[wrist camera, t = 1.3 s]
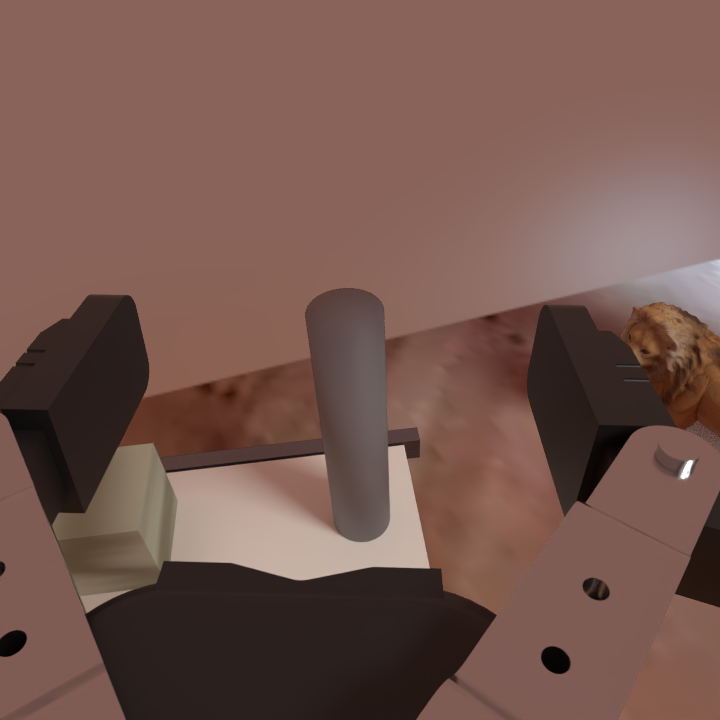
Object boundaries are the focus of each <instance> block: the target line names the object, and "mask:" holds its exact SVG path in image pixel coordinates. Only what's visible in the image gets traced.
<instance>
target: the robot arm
mask: <svg viewBox="0 0 720 720" xmlns="http://www.w3.org/2000/svg"><path fill="white" fill-rule="evenodd" d="M640 366H641V364H640V362H639V360H638V359H637V357H636V355H635V354H634V352H633V350H632V348H631V347H630V346H629V345H628V344H626V343H625V342H624V341H622V340H621V339H620V338H619V337H617V336H616V335H615V334H613V333H612V332H611V331H598V330H597V328H596V326H595V324H594V322H593V320H592V318H591V316H590V314H589V313H588V311H587V309H586V307H585V306H576V305H544V306H543V307H542V309H541V312H540V315H539V320H538V325H537V330H536V335H535V340H534V345H533V350H532V355H531V360H530V365H529V370H528V379H527V389H528V398H529V402H530V406H531V409H532V412H533V415H534V419H535V422H536V425H537V429H538V432H539V435H540V438H541V442H542V445H543V448H544V451H545V455H546V458H547V461H548V465H549V468H550V471H551V474H552V478H553V481H554V484H555V487H556V491H557V494H558V497H559V501H560V504H561V507H562V510H563V514H564V519H563V520H562V522H561V523H560V525H559V526H558V528H557V529H556V530H555V532H554V533H553V535H552V536H551V538H550V539H549V541H548V542H547V544H546V545H545V546H544V548H543V549H542V551H541V552H540V554H539V555H538V557H537V558H536V559H535V561H534V562H533V564H532V565H531V567H530V568H529V570H528V571H527V572H526V574H525V575H524V577H523V578H522V580H521V581H520V583H519V584H518V586H517V587H516V588H515V590H514V591H513V593H512V594H511V596H510V597H509V599H508V600H507V601H506V603H505V604H504V606H503V607H502V609H501V610H500V612H499V613H498V615H496V614H494V613H493V612H491V611H490V610H488V609H487V608H485V607H483V606H481V605H479V604H477V603H475V602H473V601H471V600H469V599H467V598H464V597H462V596H459V595H456V594H454V593H450V592H446V591H443V585H442V574H441V569H433V568H397V567H369V568H364V569H359V570H354V571H349V572H344V573H339V574H334V575H329V576H324V577H319V578H313V579H308V580H294V579H290V578H286V577H282V576H279V575H275V574H271V573H268V572H264V571H260V570H256V569H253V568H249V567H245V566H241V565H238V564H234V563H220V562H184V561H164V562H163V565H162V568H161V571H160V574H159V577H158V580H157V583H155V584H150V585H146V586H143V587H140V588H137V589H134V590H131V591H128V592H126V593H123V594H121V595H119V596H116V597H114V598H112V599H110V600H108V601H106V602H104V603H103V604H101V605H99V606H97V607H96V608H94V609H92V610H91V611H89V612H88V613H87V612H86V609H85V607H84V604H83V602H82V599H81V597H80V594H79V592H78V589H77V587H76V584H75V582H74V579H73V577H72V574H71V572H70V569H69V567H68V564H67V562H66V559H65V557H64V554H63V552H62V549H61V547H60V544H59V542H58V539H57V537H56V534H55V532H54V530H53V527H52V525H53V523H54V521H55V519H56V517H57V515H58V513H86V510H87V508H88V506H89V504H90V502H91V500H92V498H93V496H94V494H95V492H96V490H97V488H98V486H99V484H100V482H101V480H102V478H103V476H104V474H105V472H106V470H107V468H108V466H109V464H110V462H111V460H112V458H113V456H114V454H115V452H116V450H117V448H118V446H119V444H120V442H121V440H122V438H123V436H124V434H125V432H126V430H127V428H128V426H129V424H130V422H131V420H132V418H133V416H134V414H135V412H136V410H137V407H138V405H139V403H140V401H141V399H142V397H143V395H144V393H145V391H146V389H147V385H148V380H149V362H148V357H147V353H146V348H145V344H144V340H143V335H142V331H141V327H140V322H139V318H138V313H137V309H136V305H135V303H134V300H133V299H132V297H131V296H129V295H89V296H87V297H86V299H85V300H84V301H83V303H82V304H81V305H80V306H79V308H78V309H77V310H76V312H75V313H74V314H73V315H72V317H71V318H70V319H62V320H60V321H58V322H57V323H55V324H54V325H52V326H50V327H49V328H47V329H46V330H44V331H43V332H41V333H40V334H39V335H38V336H37V338H36V339H35V340H34V341H33V343H32V344H31V345H30V346H29V347H28V349H27V353H24V354H23V355H22V356H21V357H20V358H19V360H18V361H17V362H16V367H12V368H11V369H10V371H9V372H8V373H7V374H6V376H5V377H4V378H3V379H2V381H1V382H0V720H618V719H619V717H620V715H621V713H622V710H623V708H624V706H625V704H626V701H627V699H628V697H629V695H630V693H631V690H632V688H633V686H634V684H635V681H636V679H637V677H638V675H639V672H640V670H641V668H642V666H643V663H644V661H645V659H646V657H647V655H648V652H649V650H650V648H651V646H652V643H653V641H654V639H655V637H656V634H657V632H658V630H659V628H660V625H661V623H662V621H663V619H664V617H665V614H666V612H667V610H668V608H669V605H670V603H671V601H672V599H673V596H674V594H677V595H681V596H684V597H687V598H691V599H694V600H697V601H700V602H704V603H707V604H710V605H714V606H717V607H720V453H719V452H718V450H717V449H715V448H714V447H713V446H712V445H711V444H710V443H708V442H707V441H706V440H704V439H702V438H701V437H699V436H697V435H695V434H693V433H691V432H688V431H685V430H682V429H679V428H677V426H676V424H675V423H674V421H673V419H672V417H671V416H670V414H669V412H668V411H667V409H666V407H665V405H664V404H663V402H662V400H661V398H660V397H659V395H658V393H657V392H656V390H655V388H654V386H653V385H652V383H651V382H649V378H648V376H647V374H646V373H645V371H644V369H643V368H641V367H640Z"/></svg>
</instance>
